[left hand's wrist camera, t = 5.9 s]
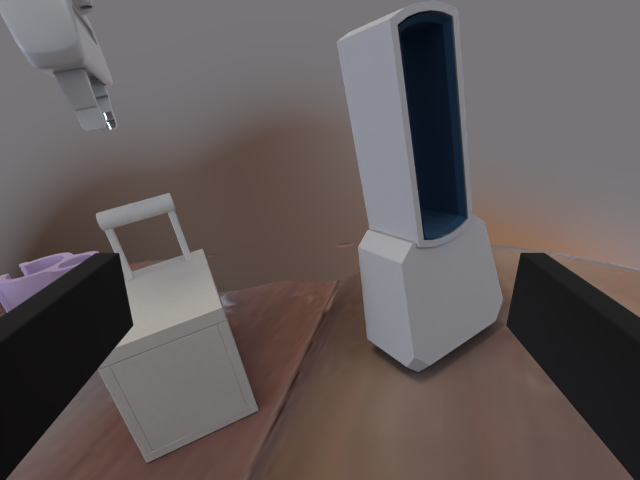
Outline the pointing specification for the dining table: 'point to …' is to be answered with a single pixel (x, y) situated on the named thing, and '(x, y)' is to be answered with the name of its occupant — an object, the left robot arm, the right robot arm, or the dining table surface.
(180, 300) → the lid
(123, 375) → the chest
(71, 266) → the clip
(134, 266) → the dining table surface
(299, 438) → the dining table surface
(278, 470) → the dining table surface
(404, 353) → the electronic device
